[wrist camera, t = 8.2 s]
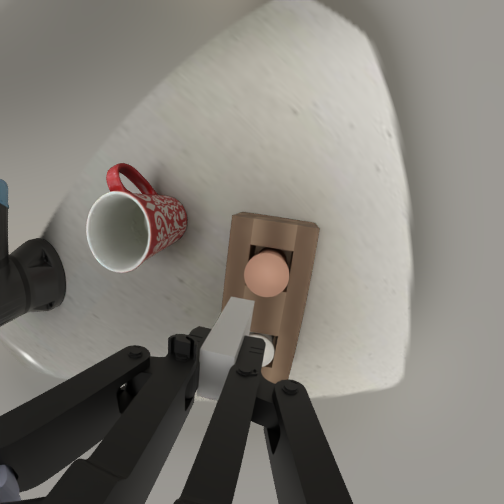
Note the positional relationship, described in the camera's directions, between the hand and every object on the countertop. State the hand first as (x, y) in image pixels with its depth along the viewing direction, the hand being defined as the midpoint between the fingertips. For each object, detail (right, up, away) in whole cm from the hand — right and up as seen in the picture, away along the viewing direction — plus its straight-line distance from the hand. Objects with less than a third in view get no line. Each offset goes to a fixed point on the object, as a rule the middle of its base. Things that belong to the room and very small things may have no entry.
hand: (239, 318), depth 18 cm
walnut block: (+3, -2, +23) cm, 24 cm away
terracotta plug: (+3, +3, +19) cm, 19 cm away
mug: (-12, +11, +23) cm, 29 cm away
